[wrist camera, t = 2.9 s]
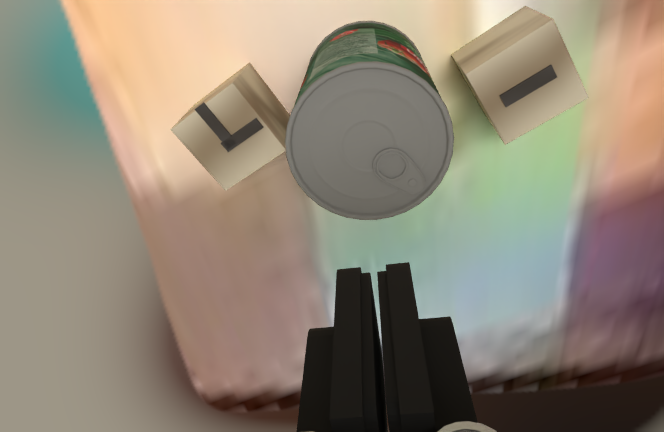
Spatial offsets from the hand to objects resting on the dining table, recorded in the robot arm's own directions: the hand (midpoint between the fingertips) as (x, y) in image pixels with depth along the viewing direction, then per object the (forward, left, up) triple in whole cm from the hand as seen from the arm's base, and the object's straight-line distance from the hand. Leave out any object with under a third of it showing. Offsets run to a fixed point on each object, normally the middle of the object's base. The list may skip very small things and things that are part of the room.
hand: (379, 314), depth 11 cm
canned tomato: (-1, +1, -24) cm, 24 cm away
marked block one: (-5, -7, -24) cm, 25 cm away
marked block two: (+2, +9, -24) cm, 25 cm away
